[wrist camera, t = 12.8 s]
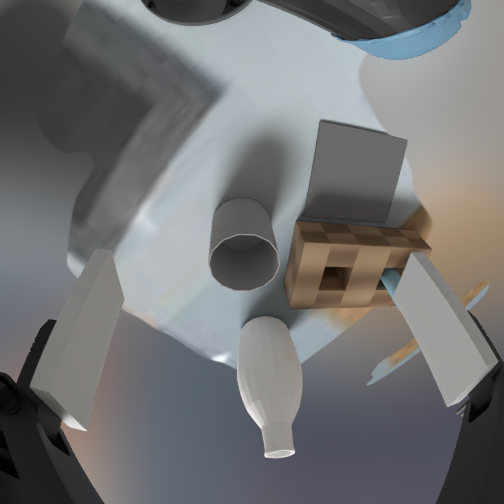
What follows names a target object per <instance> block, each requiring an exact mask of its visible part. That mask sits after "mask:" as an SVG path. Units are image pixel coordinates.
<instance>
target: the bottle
mask: <svg viewBox="0 0 504 504" xmlns="http://www.w3.org/2000/svg"><path fill="white" fill-rule="evenodd" d="M237 381H238V385H239V389H240V393H241V397H242V400H243V402H244V404H245V406H246V409H247V411H248V413H249V414H250V415H251V417H252V418H253V419H254V420H255V422H256V423H257V424H258V425H259V427H260V428H261V429H262V435H263V441H264V446H265V453H264V455H265V457H267V458H282V457H287V456H290V455H292V454H294V453H295V449H294V448H293V441H292V440H293V439H292V429H291V425H292V422H293V420H294V418H295V415H296V413H297V411H298V408H299V406H300V401H301V394H302V370H301V366H300V362H299V359H298V355H297V352H296V348H295V345H294V343H293V340H292V338H291V336H290V333H289V331H288V329H287V327H286V325H285V323H284V322H282V321H281V320H280V319H278V318H275V317H271V316H262V317H257V318H254V319H252V320H250V321H248V322H247V323H246V324H245V325H244V326H243V327H242V329H241V332H240V338H239V345H238V353H237Z"/></svg>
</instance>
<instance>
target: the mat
mask: <svg viewBox="0 0 504 504" xmlns="http://www.w3.org/2000/svg"><path fill="white" fill-rule="evenodd" d="M406 146H407V140H405V139H401V138H397V137H393V136H390V135H385V134H381V133H377V132H373V131H368V130H363V129H359V128H354V127H349V126H343V125H338V124H332V123H326V122H320V123H319V130H318V136H317V142H316V148H315V154H314V160H313V166H312V172H311V178H310V183H309V189H308V194H307V200H306V205H305V210H304V216H308V217H321V218H334V219H347V220H358V221H369V222H380V223H385V222H386V219H387V216H388V212H389V209H390V206H391V203H392V199H393V196H394V192H395V189H396V185H397V182H398V178H399V174H400V170H401V166H402V162H403V158H404V154H405V150H406Z"/></svg>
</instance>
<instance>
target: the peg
mask: <svg viewBox="0 0 504 504" xmlns="http://www.w3.org/2000/svg"><path fill="white" fill-rule="evenodd" d="M380 279H381V280H382V282H383V284H384V285H385V287H386V289H387V290H388V292H389V294H390V295H391V297H392V299H393V301H394V302H395V304H396V306H397V307H398V305H397V303H396V301H395V300H394V298H393V295H394V293H395V290H396V288H397V286H398V284H399V281H400V279H401V276H400V275H399V273H398V272H397V270H396V269H395V268H384V270H383V273H382V275H381V278H380ZM398 309H399V307H398ZM399 311H401V310H400V309H399Z"/></svg>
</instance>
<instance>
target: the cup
mask: <svg viewBox="0 0 504 504" xmlns="http://www.w3.org/2000/svg"><path fill="white" fill-rule="evenodd" d="M208 265H209V268H210V272H211V275H212V277H213V278H214V279H215V280H216V281H217V282H218V283H219V284H220V285H221V286H223V287H225V288H228V289H231V290H233V291H253V290H255V289H258V288H261V287H264V286H265V285H266V284H268V283H269V282H270V281H271V280H272V279H274V278H275V276H276V273H277V271H278V269H279V267H280V260H279V252H278V248H277V244H276V241H275V237H274V233H273V229H272V225H271V222H270V218H269V214H268V213H267V211H266V210H265V208H264V207H263V206H262V204H260V203H258V202H256V201H254V200H252V199H250V198H234V199H231V200H229V201H226V202H224V203H223V204H222V205H221V206H220V207H219V208H218V209H217V210H216V211H215V214H214V217H213V221H212V227H211V238H210V249H209V260H208Z"/></svg>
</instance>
